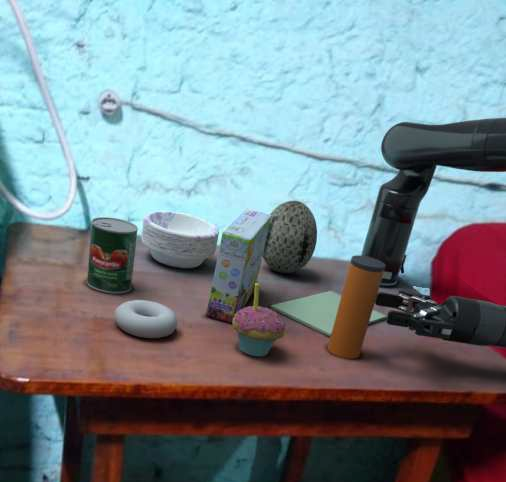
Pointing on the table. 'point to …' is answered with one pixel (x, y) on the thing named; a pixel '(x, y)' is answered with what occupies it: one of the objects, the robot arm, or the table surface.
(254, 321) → the cupcake
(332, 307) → the placemat
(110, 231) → the canned tomato
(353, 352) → the crisps tube
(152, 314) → the donut
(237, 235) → the snack box
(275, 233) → the decorative egg
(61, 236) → the table surface
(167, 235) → the paper bowls
